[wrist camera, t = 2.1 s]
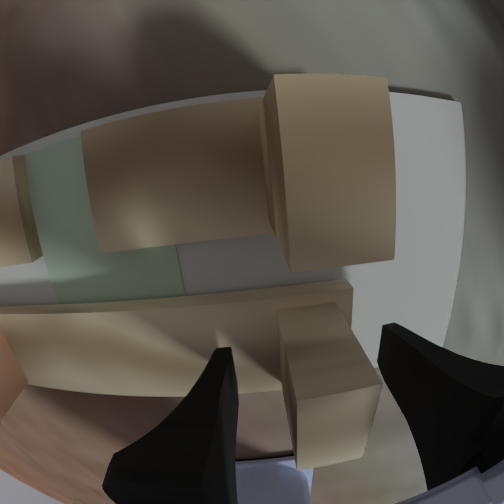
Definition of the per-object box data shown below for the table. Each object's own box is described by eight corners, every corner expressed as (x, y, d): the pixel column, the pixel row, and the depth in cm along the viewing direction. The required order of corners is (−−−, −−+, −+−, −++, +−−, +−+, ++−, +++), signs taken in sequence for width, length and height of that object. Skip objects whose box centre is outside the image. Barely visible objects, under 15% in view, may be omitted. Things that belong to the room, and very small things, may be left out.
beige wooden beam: (340, 366, 14) (379, 458, 8) (-12, 366, 14) (-52, 415, 8) (345, 278, 13) (410, 363, 7) (-40, 306, 12) (-91, 349, 7)
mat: (438, 345, 15) (442, 350, 15) (-8, 369, 15) (-11, 373, 15) (456, 103, 11) (462, 102, 10) (-66, 193, 11) (-71, 194, 10)
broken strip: (343, 220, 12) (420, 275, 6) (-49, 270, 12) (-105, 307, 6) (335, 99, 11) (414, 62, 5) (-64, 198, 10) (-126, 222, 5)
